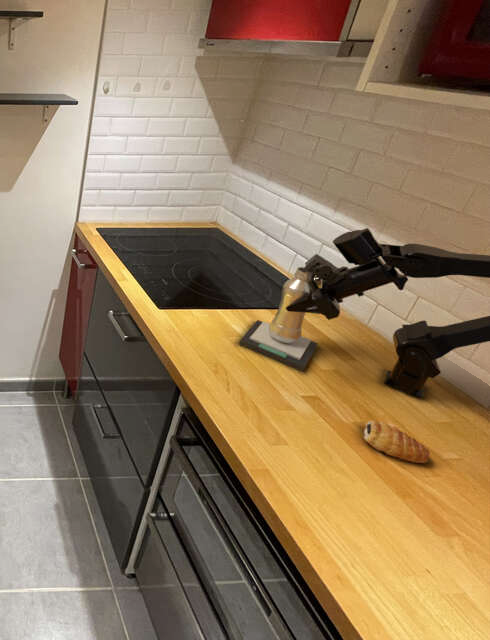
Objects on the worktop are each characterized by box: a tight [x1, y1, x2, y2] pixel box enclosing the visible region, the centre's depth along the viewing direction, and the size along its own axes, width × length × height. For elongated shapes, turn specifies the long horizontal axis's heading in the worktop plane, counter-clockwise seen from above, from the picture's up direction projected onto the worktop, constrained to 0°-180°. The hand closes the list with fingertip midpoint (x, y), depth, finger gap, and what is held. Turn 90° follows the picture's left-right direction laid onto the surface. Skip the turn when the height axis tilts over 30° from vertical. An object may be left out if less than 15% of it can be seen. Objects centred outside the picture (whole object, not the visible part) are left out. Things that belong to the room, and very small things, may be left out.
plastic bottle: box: [269, 266, 316, 343], centre depth 111 cm, size 6×7×20 cm
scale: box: [238, 319, 319, 372], centre depth 116 cm, size 14×14×2 cm
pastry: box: [363, 419, 431, 464], centre depth 86 cm, size 9×7×4 cm
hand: (287, 303), depth 112 cm, fingers closed on plastic bottle, 6 cm apart
